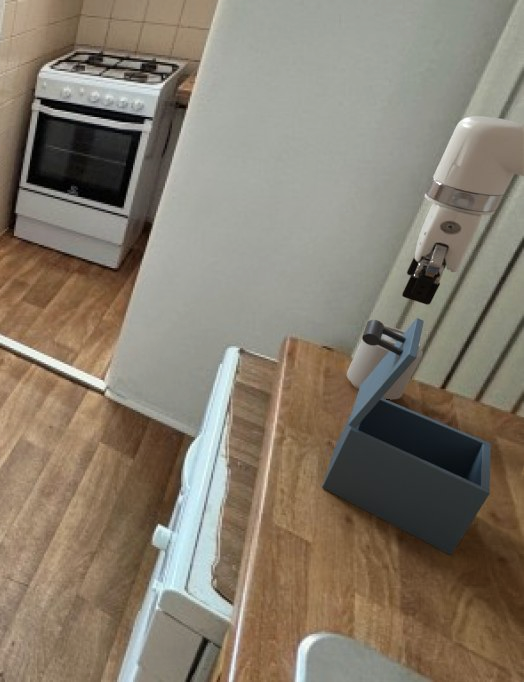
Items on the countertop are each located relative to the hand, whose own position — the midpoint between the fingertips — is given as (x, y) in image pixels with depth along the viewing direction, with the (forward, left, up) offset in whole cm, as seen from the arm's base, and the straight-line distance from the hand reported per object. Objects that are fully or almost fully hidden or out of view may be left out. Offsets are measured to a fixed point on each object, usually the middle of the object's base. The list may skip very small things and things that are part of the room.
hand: (417, 288), depth 99 cm
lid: (+12, +20, -5) cm, 23 cm away
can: (-3, -4, -24) cm, 25 cm away
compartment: (+8, +22, -24) cm, 34 cm away
